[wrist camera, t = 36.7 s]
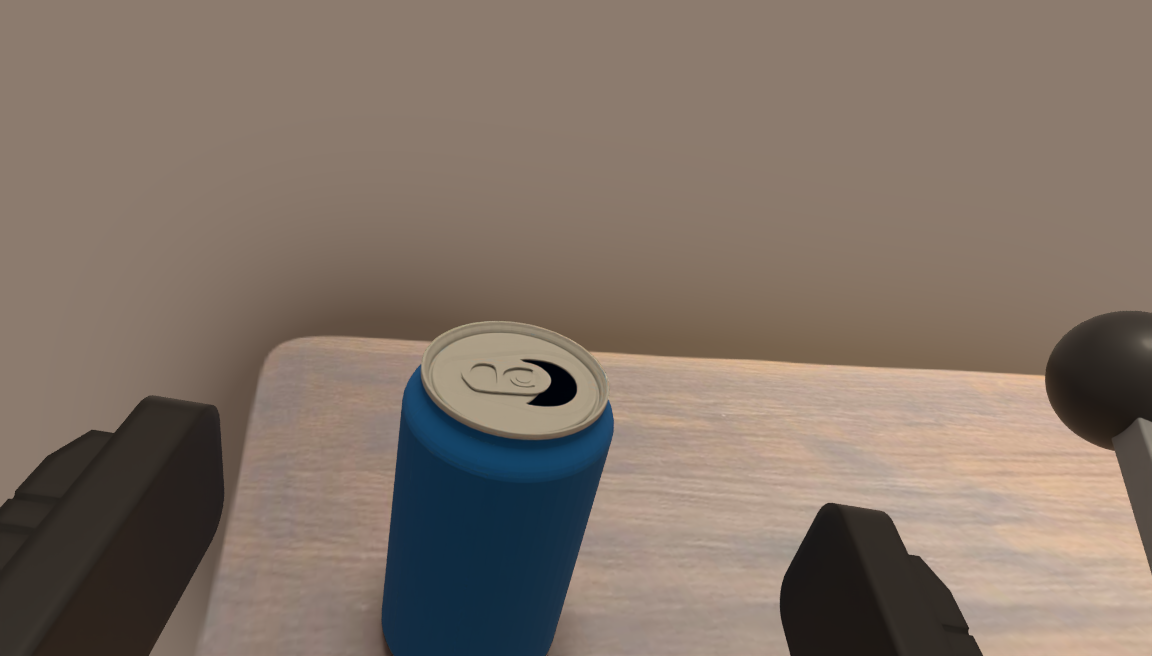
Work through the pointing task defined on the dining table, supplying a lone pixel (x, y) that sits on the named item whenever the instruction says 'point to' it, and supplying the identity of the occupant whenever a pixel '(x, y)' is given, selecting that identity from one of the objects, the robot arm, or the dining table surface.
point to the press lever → (1110, 398)
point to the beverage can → (492, 490)
